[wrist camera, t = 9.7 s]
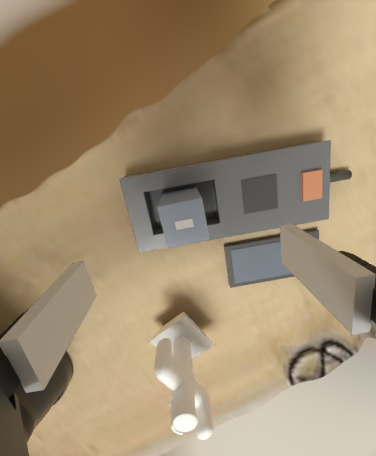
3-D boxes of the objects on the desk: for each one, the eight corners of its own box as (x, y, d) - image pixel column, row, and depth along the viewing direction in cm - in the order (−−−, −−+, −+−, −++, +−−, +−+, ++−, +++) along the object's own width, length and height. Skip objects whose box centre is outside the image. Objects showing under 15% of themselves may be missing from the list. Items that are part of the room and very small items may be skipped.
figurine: (180, 296, 37) (181, 386, 23) (214, 331, 39) (235, 432, 25) (147, 320, 38) (128, 420, 24) (182, 353, 41) (185, 460, 26)
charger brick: (170, 223, 32) (167, 248, 24) (162, 192, 31) (157, 207, 22) (201, 216, 32) (209, 240, 24) (195, 185, 31) (202, 198, 22)
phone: (229, 284, 37) (230, 287, 36) (223, 245, 34) (225, 247, 34) (315, 269, 36) (318, 272, 36) (315, 228, 34) (319, 230, 33)
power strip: (142, 244, 34) (138, 254, 30) (124, 176, 31) (118, 179, 27) (342, 208, 33) (361, 214, 30) (346, 136, 30) (367, 133, 27)
